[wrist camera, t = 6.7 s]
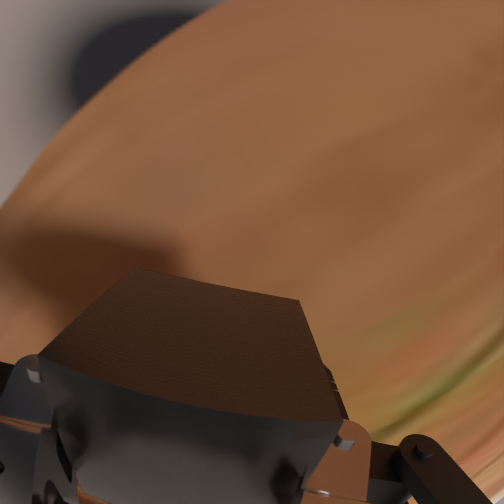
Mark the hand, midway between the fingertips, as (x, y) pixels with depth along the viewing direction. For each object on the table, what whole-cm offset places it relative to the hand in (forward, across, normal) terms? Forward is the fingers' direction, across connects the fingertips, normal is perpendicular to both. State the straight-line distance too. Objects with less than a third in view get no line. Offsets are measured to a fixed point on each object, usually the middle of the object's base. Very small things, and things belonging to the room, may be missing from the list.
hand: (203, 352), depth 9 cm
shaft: (0, 0, +11) cm, 11 cm away
